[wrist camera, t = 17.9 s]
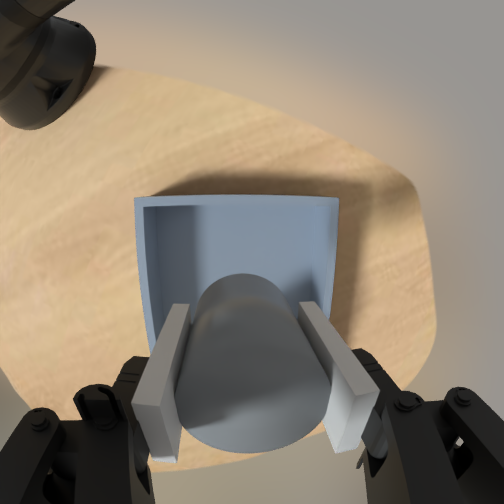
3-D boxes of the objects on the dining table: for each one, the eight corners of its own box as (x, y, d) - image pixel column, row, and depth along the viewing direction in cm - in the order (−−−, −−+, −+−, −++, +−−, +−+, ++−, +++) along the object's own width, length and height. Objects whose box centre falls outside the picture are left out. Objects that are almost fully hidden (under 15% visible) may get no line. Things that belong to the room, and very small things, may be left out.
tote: (150, 196, 26) (134, 197, 22) (320, 196, 28) (339, 197, 23) (170, 386, 32) (163, 411, 27) (304, 382, 33) (314, 407, 28)
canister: (192, 273, 14) (162, 345, 7) (291, 272, 14) (342, 339, 7) (198, 357, 15) (185, 453, 8) (286, 355, 15) (318, 445, 8)
